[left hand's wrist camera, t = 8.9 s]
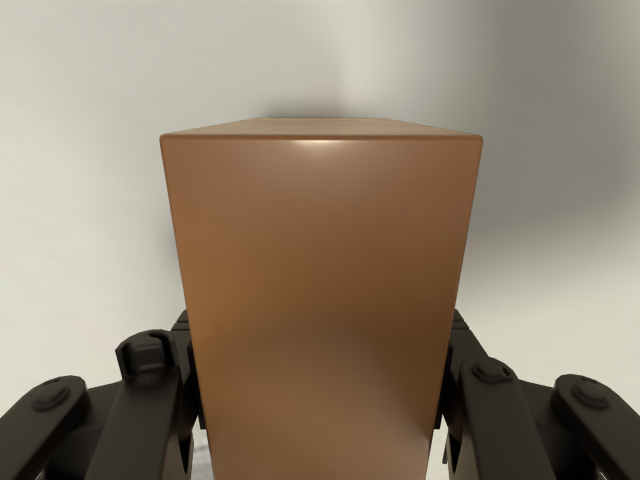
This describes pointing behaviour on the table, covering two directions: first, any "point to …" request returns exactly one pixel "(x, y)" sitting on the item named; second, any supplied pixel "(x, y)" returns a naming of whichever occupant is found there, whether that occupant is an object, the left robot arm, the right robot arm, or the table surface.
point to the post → (320, 288)
